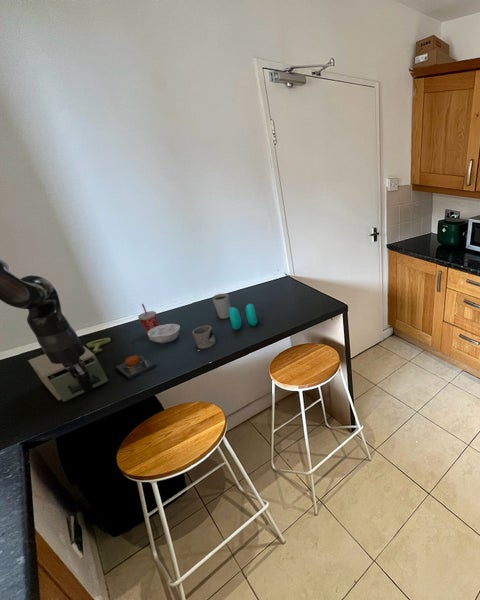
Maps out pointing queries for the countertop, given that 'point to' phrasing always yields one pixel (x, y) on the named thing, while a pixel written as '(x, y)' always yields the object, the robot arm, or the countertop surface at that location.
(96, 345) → the key
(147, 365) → the control block
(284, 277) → the countertop surface
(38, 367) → the small drawer cabinet
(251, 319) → the donuts
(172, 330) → the cell model
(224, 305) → the drinking glass
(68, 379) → the pull-out drawer
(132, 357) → the button
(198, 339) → the mug
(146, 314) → the beverage cup
